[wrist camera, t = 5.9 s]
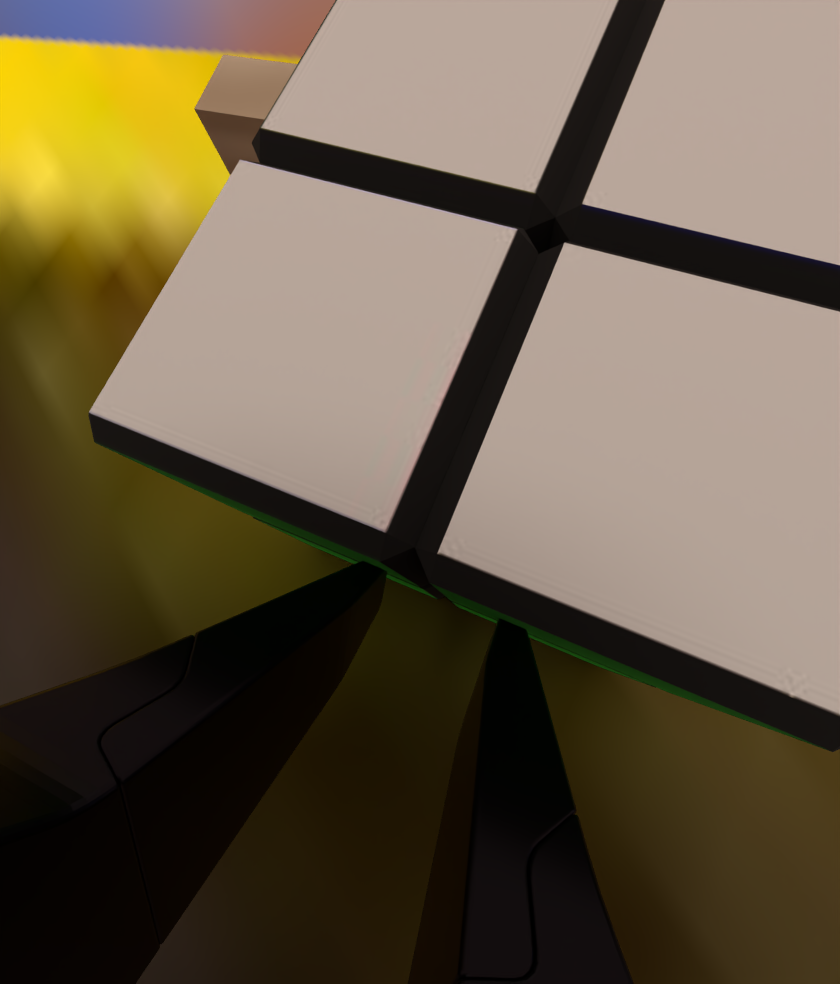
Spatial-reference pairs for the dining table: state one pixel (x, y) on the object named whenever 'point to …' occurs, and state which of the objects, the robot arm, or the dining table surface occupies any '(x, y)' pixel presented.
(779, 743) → the dining table surface
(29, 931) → the robot arm
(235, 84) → the birch board
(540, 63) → the puzzle cube
